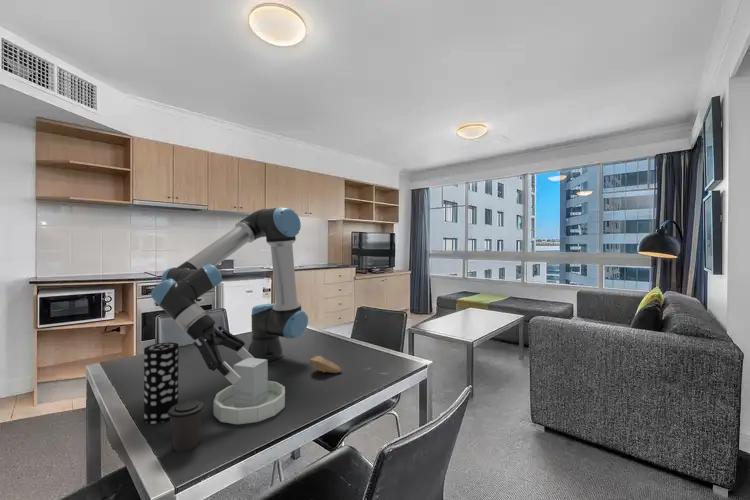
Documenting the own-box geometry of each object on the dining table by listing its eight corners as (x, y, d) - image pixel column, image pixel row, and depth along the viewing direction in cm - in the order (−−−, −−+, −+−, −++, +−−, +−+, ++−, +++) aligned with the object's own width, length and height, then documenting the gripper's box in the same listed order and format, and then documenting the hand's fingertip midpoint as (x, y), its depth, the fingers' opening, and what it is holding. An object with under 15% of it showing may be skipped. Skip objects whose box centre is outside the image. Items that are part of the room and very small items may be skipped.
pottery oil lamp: (341, 377, 126) (341, 358, 126) (308, 378, 125) (308, 359, 125) (341, 368, 135) (341, 351, 135) (311, 369, 134) (311, 351, 134)
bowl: (243, 389, 115) (243, 377, 115) (296, 396, 110) (296, 384, 110) (198, 417, 96) (198, 404, 96) (260, 428, 91) (260, 413, 91)
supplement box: (268, 399, 106) (268, 359, 105) (253, 410, 99) (253, 367, 98) (248, 396, 108) (248, 356, 108) (232, 406, 101) (232, 364, 101)
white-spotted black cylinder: (154, 409, 100) (154, 342, 100) (183, 408, 101) (183, 342, 101) (137, 424, 92) (137, 351, 92) (169, 423, 93) (169, 351, 93)
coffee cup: (159, 449, 81) (159, 408, 81) (190, 432, 88) (190, 394, 88) (182, 458, 78) (182, 415, 78) (212, 440, 85) (212, 400, 85)
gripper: (207, 321, 114) (251, 365, 115) (161, 343, 89) (218, 399, 90) (223, 306, 114) (267, 350, 115) (182, 323, 89) (238, 379, 90)
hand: (246, 372), depth 102 cm, fingers open, 13 cm apart
